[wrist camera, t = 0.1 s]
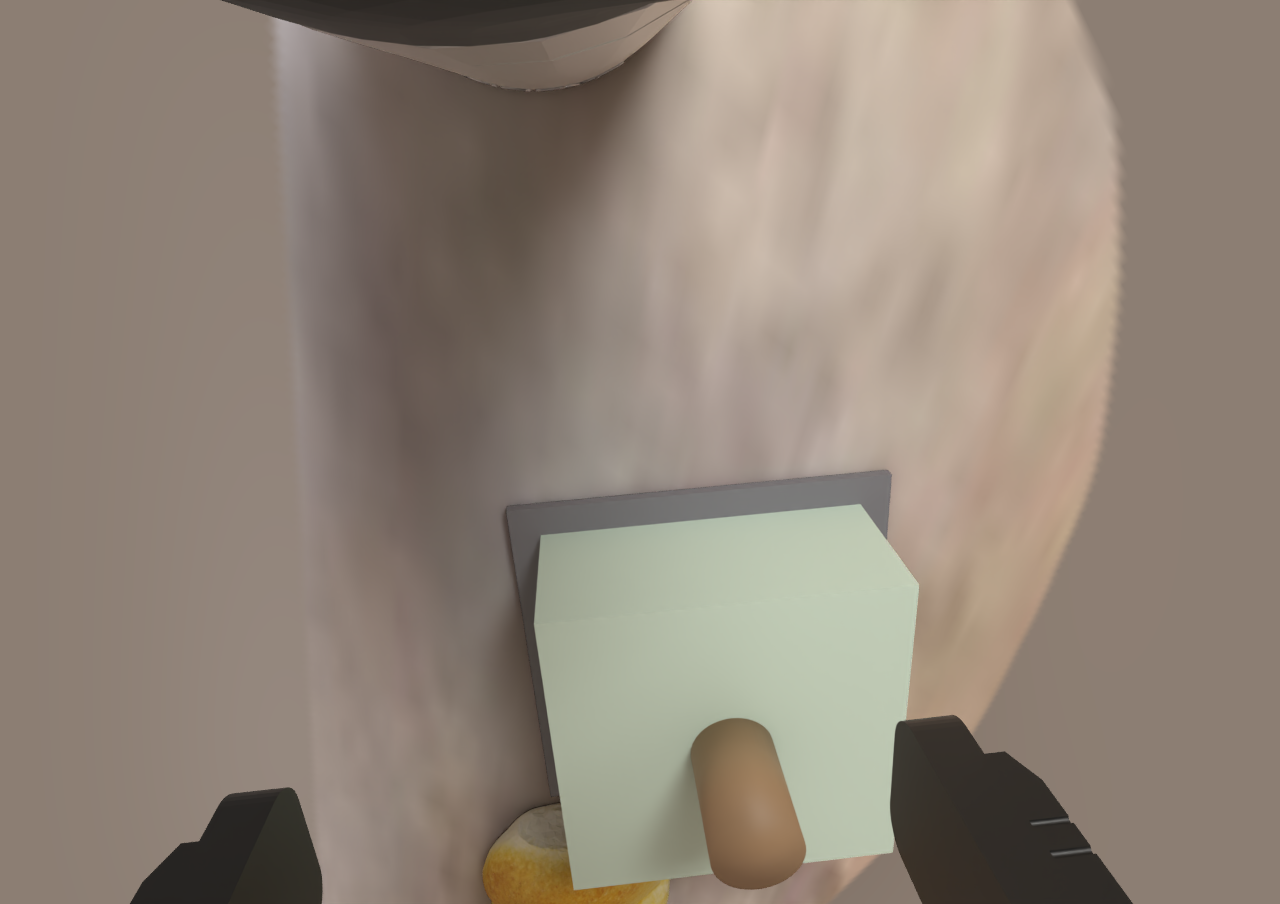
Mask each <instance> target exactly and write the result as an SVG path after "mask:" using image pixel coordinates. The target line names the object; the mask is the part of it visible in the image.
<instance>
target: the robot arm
mask: <svg viewBox="0 0 1280 904" xmlns="http://www.w3.org/2000/svg"><path fill="white" fill-rule="evenodd" d="M222 1H225V2H228V3H231V4H234V5H238V6H241V7H244V8H247V9H250V10H253V11H256V12H259V13H263V14H266V15H269V16H272V17H275V18H279V19H282V20H286V21H289V22H293V23H296V24H300V25H302V26H305V27H308V28H310V29H313V30H316V31H319V32H322V33H325V34H329V35H332V36H335V37H338V38H342V39H345V40H348V41H352V42H355V43H358V44H361V45H365V46H368V47H371V48H375V49H378V50H381V51H384V52H388V53H393V54H396V55H399V56H402V57H406V58H409V59H412V60H415V61H419V62H422V63H425V64H428V65H432V66H435V67H438V68H441V69H445V70H448V71H451V72H454V73H458V74H460V75H462V76H465V77H467V78H470V79H472V80H475V81H478V82H481V83H484V84H487V85H490V84H491V86H495V87H498V86H501V88H504V89H511V90H519V91H532V90H535V91H549V90H558V89H564V88H567V87H572V86H577V85H580V84H583V83H586V82H588V81H590V80H593V79H596V78H599V77H601V76H602V75H604V74H606V73H608V72H610V71H612V70H613V69H615V68H617V67H619V66H620V65H622V64H623V63H624V60H626V59H627V58H628V57H630V56H631V55H632V54H633V53H635V52H636V51H637V50H638V49H640V48H641V47H642V46H643V45H644V44H646V43H647V42H648V41H649V40H650V39H652V38H653V37H654V36H655V35H656V34H657V33H658V32H659V31H660V30H661V29H662V28H663V27H664V26H665V25H666V24H668V23H669V22H670V21H671V20H672V19H673V18H674V17H675V16H676V15H677V14H678V13H679V12H680V11H681V10H682V9H684V8H685V7H686V6H687V5H688V4H689V3H690V2H691V1H692V0H222ZM890 816H891V823H892V829H893V833H894V837H895V841H896V844H897V847H898V850H899V853H900V855H901V858H902V860H903V862H904V864H905V867H906V869H907V871H908V873H909V875H910V878H911V880H912V882H913V884H914V886H915V889H916V891H917V893H918V895H919V897H920V899H921V902H922V904H1133V903H1132V902H1131V900H1130V899H1129V898H1128V896H1127V895H1126V894H1125V892H1124V891H1123V889H1122V888H1121V887H1120V885H1119V884H1118V883H1117V882H1116V880H1115V879H1114V877H1113V876H1112V875H1111V873H1110V872H1109V871H1108V869H1107V868H1106V866H1105V865H1104V864H1103V862H1102V861H1101V859H1100V858H1099V857H1098V856H1097V854H1093V853H1092V851H1091V847H1090V844H1089V843H1088V842H1087V840H1086V839H1085V838H1084V836H1083V835H1082V834H1081V832H1080V831H1079V830H1078V828H1077V827H1076V825H1075V824H1074V823H1070V821H1069V818H1068V814H1067V813H1066V812H1065V810H1064V809H1063V808H1062V806H1061V805H1060V803H1059V802H1058V801H1057V799H1056V798H1055V797H1054V795H1053V794H1052V793H1051V791H1050V790H1049V788H1048V787H1047V786H1046V784H1045V783H1044V782H1043V780H1042V779H1040V778H1039V777H1038V776H1036V775H1035V774H1034V773H1032V772H1031V771H1030V770H1028V769H1027V768H1026V767H1024V766H1023V765H1022V764H1021V763H1019V762H1018V761H1017V760H1015V759H1014V758H1012V757H1011V756H1010V755H1009V754H1007V753H1006V752H997V753H988V754H984V753H983V751H982V750H981V748H980V747H979V745H978V744H977V742H976V741H975V739H974V738H973V736H972V735H971V733H970V732H969V730H968V729H967V727H966V726H965V724H964V723H963V722H962V721H961V720H960V719H959V718H958V717H957V716H954V715H950V716H941V717H932V718H923V719H914V720H905V721H899V722H898V723H897V725H896V729H895V737H894V752H893V766H892V780H891V795H890ZM130 904H322V875H321V870H320V866H319V863H318V859H317V856H316V853H315V850H314V847H313V843H312V840H311V837H310V834H309V831H308V828H307V825H306V822H305V818H304V815H303V812H302V809H301V805H300V802H299V799H298V796H297V794H296V793H295V791H294V790H293V789H292V788H280V789H270V790H261V791H253V792H243V793H234V794H230V795H228V796H226V797H225V798H224V799H223V800H222V801H221V803H220V804H219V806H218V808H217V809H216V811H215V813H214V815H213V817H212V819H211V821H210V823H209V824H208V826H207V828H206V830H205V832H204V833H203V835H202V837H201V839H200V841H198V842H190V843H182V844H180V845H179V846H178V847H177V848H176V849H175V850H174V851H173V852H172V853H171V854H170V855H169V856H168V857H167V858H166V859H165V860H164V861H163V862H162V863H161V864H160V865H159V866H158V867H157V868H156V869H155V870H154V871H153V872H152V873H151V874H150V875H149V876H148V877H147V878H146V879H145V880H144V881H143V882H142V884H141V886H140V888H139V889H138V891H137V893H136V894H135V896H134V898H133V899H132V901H131V903H130Z"/></svg>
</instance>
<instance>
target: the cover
mask: <svg viewBox="0 0 1280 904" xmlns="http://www.w3.org/2000/svg"><path fill="white" fill-rule="evenodd" d="M918 592H919V584H918V583H917V581H916V580H915V578H914V577H913V576H912V574H911V573H910V572H909V570H908V569H907V567H906V566H905V565H904V563H903V562H902V561H901V559H900V558H899V556H898V555H897V554H896V552H895V551H894V550H893V548H892V547H891V545H890V544H889V543H888V541H887V540H886V538H885V537H884V536H883V534H882V533H881V532H880V530H879V529H878V527H877V526H876V525H875V523H874V522H873V521H872V519H871V518H870V516H869V515H868V514H867V512H866V511H865V510H864V508H863V507H862V505H861V504H856V505H846V506H836V507H825V508H815V509H805V510H795V511H784V512H774V513H764V514H753V515H743V516H733V517H723V518H712V519H702V520H692V521H682V522H671V523H661V524H651V525H641V526H630V527H620V528H610V529H600V530H589V531H579V532H569V533H559V534H548V535H541V538H540V552H539V565H538V578H537V591H536V604H535V617H534V628H535V635H536V641H537V648H538V655H539V661H540V668H541V675H542V681H543V688H544V695H545V701H546V708H547V715H548V721H549V728H550V735H551V741H552V748H553V755H554V761H555V768H556V775H557V781H558V788H559V795H560V801H561V808H562V815H563V821H564V828H565V834H566V841H567V848H568V854H569V861H570V868H571V874H572V881H573V888H574V890H581V889H589V888H598V887H606V886H615V885H623V884H631V883H640V882H648V881H657V880H665V879H674V878H682V877H691V876H699V875H707V874H714V875H715V876H716V877H717V878H718V879H719V880H720V881H722V882H723V883H725V884H727V885H729V886H732V887H735V888H739V889H762V888H767V887H770V886H773V885H776V884H778V883H781V882H783V881H784V880H786V879H788V878H789V877H790V876H792V875H793V874H794V873H795V872H796V871H797V870H798V869H799V868H800V866H801V865H802V863H809V862H817V861H826V860H834V859H842V858H851V857H859V856H868V855H876V854H885V853H892V852H893V845H894V833H893V829H892V823H891V816H890V795H891V780H892V766H893V752H894V737H895V729H896V725H897V723H898V722H899V721H905V720H906V713H907V703H908V693H909V683H910V673H911V663H912V653H913V643H914V633H915V623H916V612H917V602H918Z"/></svg>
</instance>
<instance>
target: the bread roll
mask: <svg viewBox="0 0 1280 904" xmlns="http://www.w3.org/2000/svg"><path fill="white" fill-rule="evenodd" d="M483 883H484V887H485V891H486V893H487V895H488V897H489V898H490V899H491V901H492V902H491V904H667V901H668V896H669V885H670V879H665V880H657V881H648V882H640V883H631V884H623V885H615V886H606V887H598V888H589V889H581V890H574V888H573V881H572V874H571V868H570V861H569V854H568V848H567V841H566V834H565V828H564V821H563V815H562V808H561V803H558V804H552V805H548V806H543V807H538V808H535V809H531V810H530V811H528V812H526V813H524V814H523V815H521V816H520V817H519V818H518V819H517V820H516V821H515V822H514V823H513V824H512V825H511V826H510V827H509V828H508V830H507V831H505V832H504V833H503V834H502V835H501V836H500V837H499V839H498V840H497V841H496V842H495V843H494V845H493V846H492V847H491V849H490V850H489V853H488V855H487V858H486V861H485V864H484V867H483Z"/></svg>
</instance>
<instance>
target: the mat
mask: <svg viewBox="0 0 1280 904" xmlns="http://www.w3.org/2000/svg"><path fill="white" fill-rule="evenodd" d="M891 477H892V474H891V473H890V472H889V471H888V470H881V471H870V472H860V473H849V474H839V475H829V476H818V477H808V478H797V479H787V480H776V481H766V482H755V483H745V484H734V485H724V486H713V487H703V488H693V489H682V490H672V491H661V492H651V493H640V494H630V495H619V496H609V497H598V498H588V499H578V500H567V501H557V502H546V503H536V504H525V505H515V506H507V509H506V514H507V520H508V527H509V533H510V539H511V546H512V552H513V559H514V565H515V571H516V578H517V584H518V590H519V597H520V603H521V610H522V616H523V622H524V629H525V635H526V641H527V648H528V654H529V661H530V667H531V673H532V680H533V686H534V692H535V699H536V705H537V712H538V718H539V724H540V731H541V737H542V743H543V750H544V756H545V763H546V769H547V775H548V782H549V788H550V794H551V797H554V796H560V795H559V788H558V781H557V775H556V768H555V761H554V755H553V748H552V741H551V735H550V728H549V721H548V715H547V708H546V701H545V695H544V688H543V681H542V675H541V668H540V661H539V655H538V648H537V641H536V635H535V628H534V617H535V604H536V591H537V578H538V565H539V552H540V538H541V535H548V534H559V533H569V532H579V531H589V530H600V529H610V528H620V527H630V526H641V525H651V524H661V523H671V522H682V521H692V520H702V519H712V518H723V517H733V516H743V515H753V514H764V513H774V512H784V511H795V510H805V509H815V508H825V507H836V506H846V505H856V504H861V505H862V507H863V508H864V510H865V511H866V512H867V514H868V515H869V516H870V518H871V519H872V521H873V522H874V523H875V525H876V526H877V527H878V529H879V530H880V532H881V533H882V534H883V536H884V537H885V538H886V540H887V530H888V517H889V503H890V490H891Z"/></svg>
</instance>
